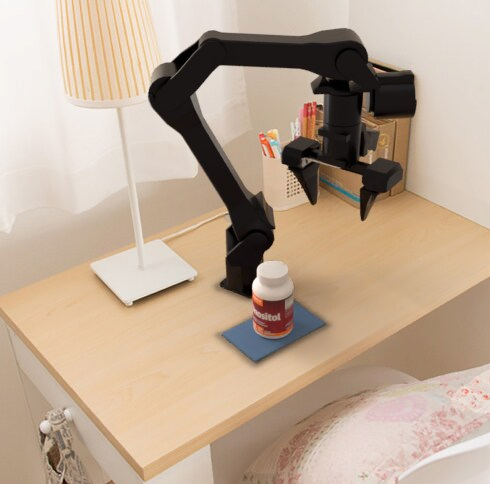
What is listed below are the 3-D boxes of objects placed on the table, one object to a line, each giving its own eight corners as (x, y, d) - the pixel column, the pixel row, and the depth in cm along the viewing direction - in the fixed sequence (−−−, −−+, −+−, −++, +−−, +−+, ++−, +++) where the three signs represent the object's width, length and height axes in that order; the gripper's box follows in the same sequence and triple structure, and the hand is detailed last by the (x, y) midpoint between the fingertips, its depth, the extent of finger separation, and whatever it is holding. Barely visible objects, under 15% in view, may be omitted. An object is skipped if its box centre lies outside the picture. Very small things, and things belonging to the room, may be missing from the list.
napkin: (255, 362, 110) (255, 360, 109) (221, 335, 115) (221, 333, 115) (325, 324, 117) (325, 322, 116) (291, 300, 122) (291, 298, 122)
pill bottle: (246, 333, 114) (243, 274, 108) (264, 311, 119) (263, 253, 113) (282, 345, 112) (281, 285, 106) (300, 322, 117) (300, 263, 110)
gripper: (424, 115, 111) (414, 207, 120) (317, 90, 120) (315, 178, 129) (389, 141, 104) (381, 237, 113) (278, 113, 113) (279, 204, 122)
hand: (338, 212), depth 119 cm, fingers open, 9 cm apart
